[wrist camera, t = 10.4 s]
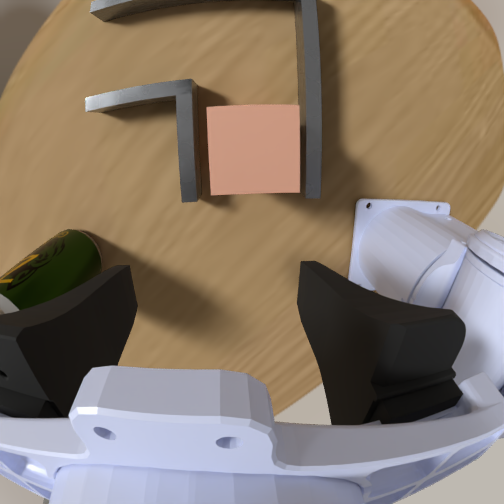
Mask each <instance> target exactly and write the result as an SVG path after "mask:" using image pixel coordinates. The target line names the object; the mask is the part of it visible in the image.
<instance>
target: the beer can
mask: <svg viewBox="0 0 504 504" xmlns="http://www.w3.org/2000/svg"><path fill="white" fill-rule="evenodd" d="M101 269H102V256H101V252H100V249H99V247H98V245H97V244H96V242H95V241H94V239H93V238H92V237H90V236H89V235H88V234H87V233H85V232H82V231H80V230H71V229H67V230H64V231H61V232H60V233H58V234H57V235H55V236H54V237H53V238H51V239H50V240H48V241H47V242H46V243H44V244H43V245H41V246H40V247H39V248H37V249H36V250H35V251H33V252H32V253H31V254H29V255H28V256H27V257H25V258H24V259H23V260H21V261H20V262H19V263H18V264H16V265H15V266H14V267H13V268H11V269H10V270H9V271H8V272H6V273H5V274H4V275H3V276H1V277H0V314H7V313H11V312H16V311H20V310H23V309H27V308H30V307H33V306H36V305H39V304H42V303H45V302H47V301H50V300H52V299H54V298H57V297H59V296H61V295H63V294H65V293H67V292H69V291H71V290H73V289H74V288H76V287H78V286H80V285H82V284H83V283H85V282H87V281H89V280H90V279H92V278H94V277H95V276H97V275H99V274H100V273H101Z"/></svg>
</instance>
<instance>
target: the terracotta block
mask: <svg viewBox="0 0 504 504" xmlns="http://www.w3.org/2000/svg"><path fill="white" fill-rule="evenodd" d="M207 130H208V151H209V170H210V187H211V195H228V194H253V193H296V192H300V115H299V105H231V106H214V107H207Z"/></svg>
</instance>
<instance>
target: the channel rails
mask: <svg viewBox="0 0 504 504" xmlns="http://www.w3.org/2000/svg"><path fill="white" fill-rule="evenodd" d="M213 1H230V0H96V1H93V2H91V9H90V13H92V14H93V15H95V16H96V17H97V18H99V19H100V20H102V21H103V22H105V21H108V20H111V19H115V18H119V17H123V16H126V15H131V14H135V13H139V12H144V11H149V10H154V9H159V8H165V7H171V6H177V5H184V4H192V3H202V2H213ZM277 1H293V2H294V10H295V26H296V45H297V69H298V105H299V115H300V193H301V194H302V195H303V196H304V197H305V198H320V197H321V162H322V102H321V68H320V48H319V32H318V18H317V7H316V0H277ZM174 100H176V112H177V136H178V155H179V170H180V184H181V197H182V202H197V201H198V199H199V198H200V196H201V194H202V186H201V169H200V150H199V126H198V93H197V84H196V83H195V82H194V81H193V80H192V79H185V80H176V81H168V82H161V83H154V84H148V85H142V86H137V87H131V88H126V89H121V90H116V91H112V92H107V93H103V94H99V95H95V96H91V97H87V98H85V109H86V112H99V113H102V112H106V111H111V110H116V109H121V108H127V107H132V106H138V105H145V104H151V103H158V102H166V101H174Z"/></svg>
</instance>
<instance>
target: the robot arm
mask: <svg viewBox="0 0 504 504" xmlns="http://www.w3.org/2000/svg"><path fill="white" fill-rule="evenodd" d="M368 203H370V207H369V208H366V205H367V204H368ZM437 206H438V209H437V210H436V207H437ZM449 213H450V205H449V204H448V203H446V202H434V201H416V200H393V199H359V200H358V201H357V203H356V210H355V222H354V233H353V243H352V252H351V260H350V268H349V276H348V279H346V278H345V277H343V276H341V275H339V274H338V273H336V272H334V271H333V270H331V269H329V268H328V267H326V266H324V265H322V264H321V263H319V262H316V261H301V265H300V276H299V287H298V298H297V305H298V310H299V314H300V318H301V322H302V325H303V327H304V330H305V332H306V335H307V337H308V340H309V342H310V345H311V347H312V350H313V352H314V355H315V357H316V360H317V363H318V366H319V369H320V373H321V377H322V381H323V385H324V389H325V393H326V398H327V403H328V408H329V413H330V419H331V424H332V425H315V424H298V423H297V424H296V423H285V422H275V421H274V416H273V410H272V403H271V398H270V395H269V393H268V390H267V388H266V385H265V384H264V383H262V382H260V381H259V380H257V379H255V378H254V377H252V376H250V375H249V374H247V373H241V372H234V371H228V370H221V369H213V370H192V369H157V368H139V367H125V366H117V365H118V362H119V360H120V357H121V354H122V352H123V349H124V347H125V344H126V342H127V339H128V337H129V334H130V332H131V329H132V327H133V324H134V320H135V316H136V311H137V307H138V305H137V301H136V296H135V291H134V286H133V281H132V276H131V271H130V265H117V266H114V267H112V268H110V269H108V270H106V271H104V272H102V273H100V274H99V275H97V276H95V277H94V278H92V279H90V280H89V281H87V282H85V283H83V284H82V285H80V286H78V287H76V288H74V289H73V290H71V291H69V292H67V293H65V294H63V295H61V296H59V297H57V298H54V299H52V300H50V301H47V302H45V303H42V304H39V305H36V306H33V307H30V308H27V309H23V310H20V311H16V312H11V313H7V314H0V474H1V475H2V476H4V477H6V478H8V479H9V480H11V481H13V482H15V483H16V484H18V485H20V486H22V487H24V488H26V489H28V490H30V491H31V492H33V493H35V494H37V495H39V496H41V497H44V498H46V499H48V500H50V501H49V504H393V503H395V502H397V501H399V500H401V499H404V498H406V497H408V496H411V495H413V494H415V493H417V492H419V491H421V490H423V489H424V488H427V487H429V486H431V485H433V484H434V483H436V482H438V481H440V480H442V479H444V478H445V477H447V476H449V475H451V474H453V473H454V472H456V471H458V470H460V469H461V468H463V467H465V466H466V465H468V464H470V463H471V462H473V461H475V460H476V459H478V458H480V457H481V456H482V455H483V454H484V453H485V452H486V451H487V450H488V449H489V448H490V447H491V446H492V445H493V444H494V443H495V442H496V441H497V439H500V438H504V237H502V236H500V235H498V234H496V233H493V232H490V231H488V230H480V231H477V230H475V229H473V228H472V227H470V226H468V225H466V224H464V223H463V222H461V221H459V220H457V219H455V218H453V217H451V216H450V215H449ZM358 284H360V286H359V285H358ZM371 290H376V291H377V292H378V293H375V292H373V291H371Z"/></svg>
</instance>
